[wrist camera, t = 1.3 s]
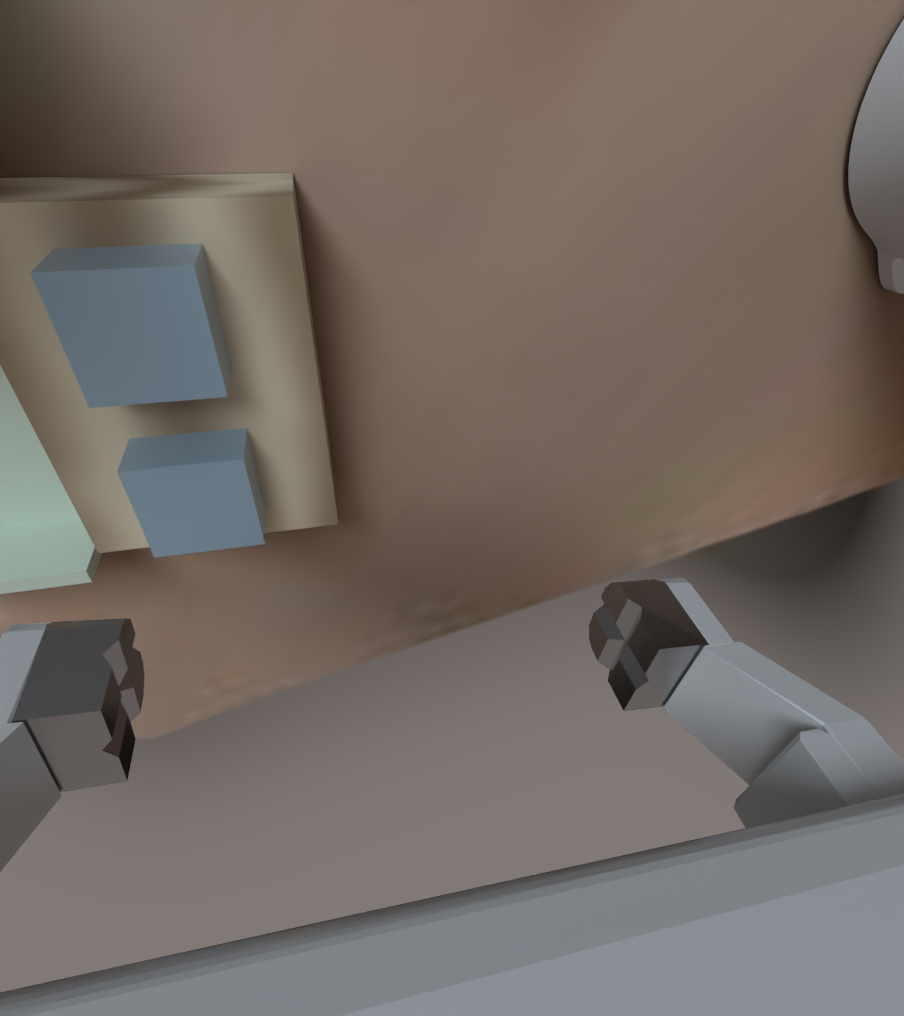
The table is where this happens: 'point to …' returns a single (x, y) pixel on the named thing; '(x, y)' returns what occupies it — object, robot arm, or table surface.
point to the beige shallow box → (244, 317)
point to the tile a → (137, 322)
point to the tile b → (195, 491)
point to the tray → (36, 511)
